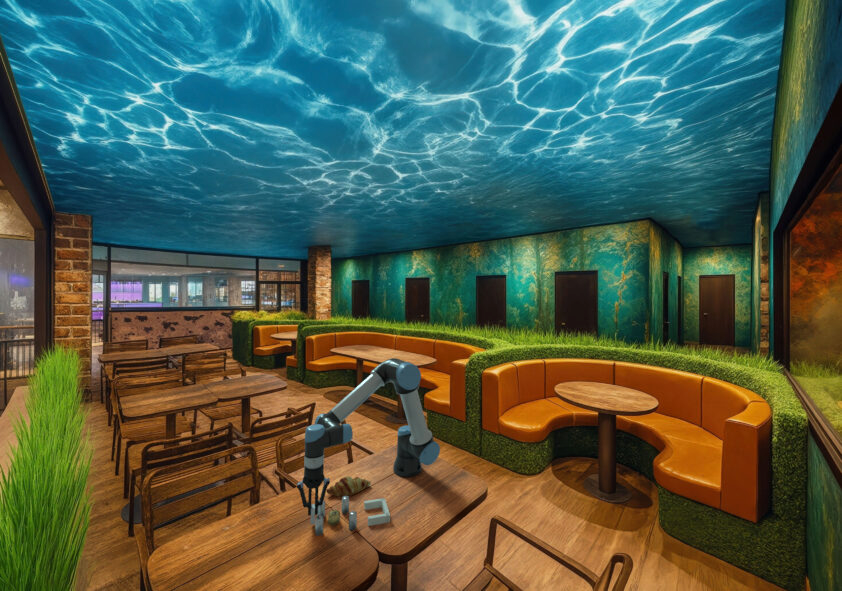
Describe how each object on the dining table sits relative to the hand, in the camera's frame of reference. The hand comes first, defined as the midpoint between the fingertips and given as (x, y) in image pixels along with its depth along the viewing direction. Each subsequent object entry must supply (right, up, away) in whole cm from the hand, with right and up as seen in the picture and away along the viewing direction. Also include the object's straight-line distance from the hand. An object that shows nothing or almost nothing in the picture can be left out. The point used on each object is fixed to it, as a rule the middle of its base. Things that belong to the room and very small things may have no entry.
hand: (312, 522), depth 140 cm
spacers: (+8, -2, +3) cm, 9 cm away
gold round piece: (+8, -2, +3) cm, 9 cm away
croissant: (+10, -2, +24) cm, 26 cm away
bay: (+25, -2, +8) cm, 27 cm away
